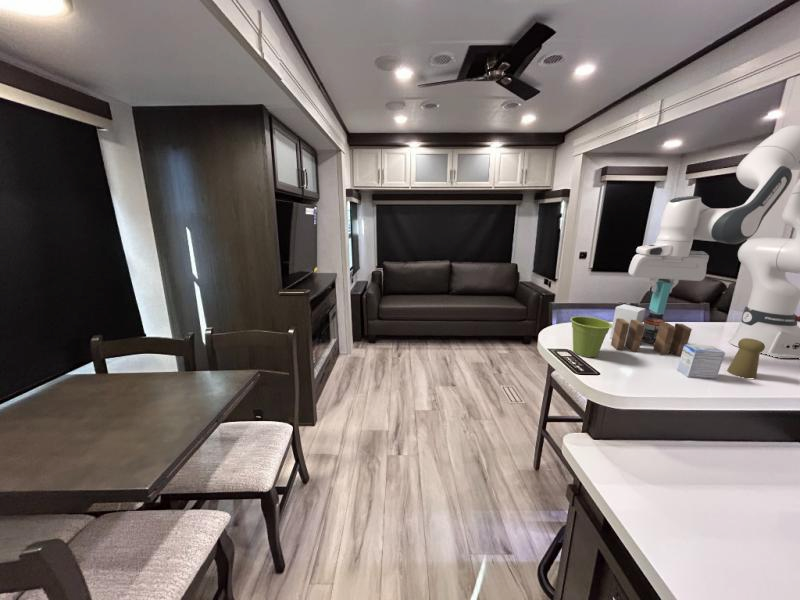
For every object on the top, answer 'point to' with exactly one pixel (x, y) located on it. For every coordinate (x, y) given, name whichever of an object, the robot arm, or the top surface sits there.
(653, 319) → the supplement bottle
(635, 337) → the domino
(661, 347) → the domino
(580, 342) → the plant pot
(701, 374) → the medicine box
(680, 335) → the domino
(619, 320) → the domino
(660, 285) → the domino
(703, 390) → the top surface
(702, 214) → the robot arm
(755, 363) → the cork
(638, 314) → the supplement box
